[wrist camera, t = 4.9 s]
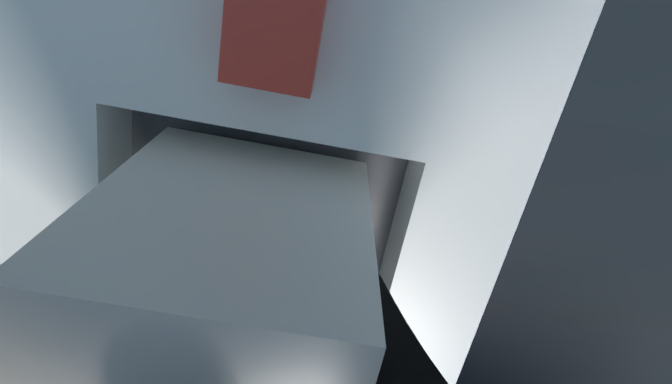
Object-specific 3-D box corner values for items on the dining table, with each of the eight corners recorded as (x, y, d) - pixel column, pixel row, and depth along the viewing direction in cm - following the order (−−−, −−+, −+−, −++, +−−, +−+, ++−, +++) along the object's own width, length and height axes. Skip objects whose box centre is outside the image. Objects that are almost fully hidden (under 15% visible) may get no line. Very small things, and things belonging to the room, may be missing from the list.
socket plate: (572, -46, 10) (652, -52, 7) (399, 449, 16) (409, 539, 13) (20, -161, 9) (-105, -211, 7) (64, 399, 15) (7, 485, 13)
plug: (366, 162, 11) (394, 422, 5) (331, 319, 13) (315, 663, 6) (167, 127, 11) (-101, 347, 4) (160, 291, 12) (-35, 621, 6)
